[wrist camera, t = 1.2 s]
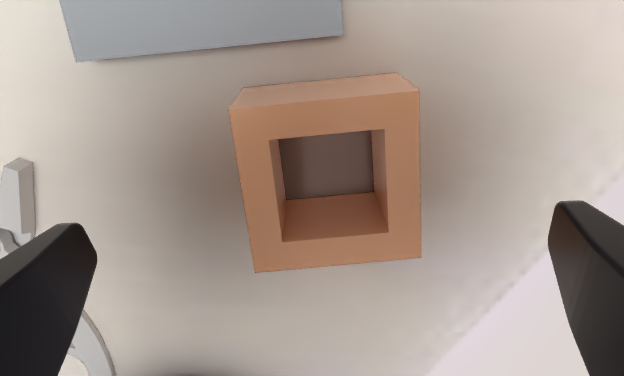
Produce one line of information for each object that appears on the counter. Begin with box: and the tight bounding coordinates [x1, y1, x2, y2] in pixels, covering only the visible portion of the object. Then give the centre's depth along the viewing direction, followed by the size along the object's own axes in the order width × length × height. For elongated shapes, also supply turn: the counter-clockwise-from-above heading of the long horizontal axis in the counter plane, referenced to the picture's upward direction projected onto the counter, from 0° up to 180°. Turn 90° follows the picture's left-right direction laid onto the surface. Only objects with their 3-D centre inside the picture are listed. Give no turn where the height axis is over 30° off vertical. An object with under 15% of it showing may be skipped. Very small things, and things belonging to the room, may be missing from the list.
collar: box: [228, 73, 421, 273], centre depth 19 cm, size 6×6×4 cm
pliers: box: [0, 158, 115, 376], centre depth 23 cm, size 10×2×15 cm
